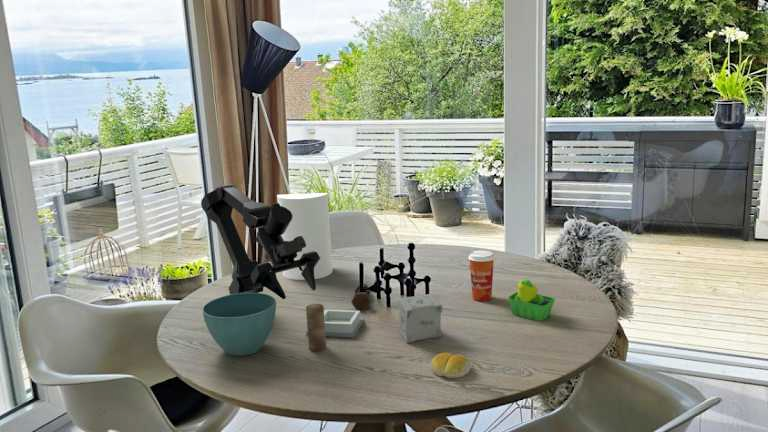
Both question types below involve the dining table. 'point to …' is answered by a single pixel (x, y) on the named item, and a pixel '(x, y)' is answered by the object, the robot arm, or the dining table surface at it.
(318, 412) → the dining table surface
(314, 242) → the cylinder
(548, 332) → the dining table surface
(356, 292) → the bolt
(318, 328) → the walnut cylinder
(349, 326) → the white tray
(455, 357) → the bread roll
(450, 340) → the dining table surface
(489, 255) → the paper cup
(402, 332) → the light grey box
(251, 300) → the teal bowl
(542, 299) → the fruit basket
